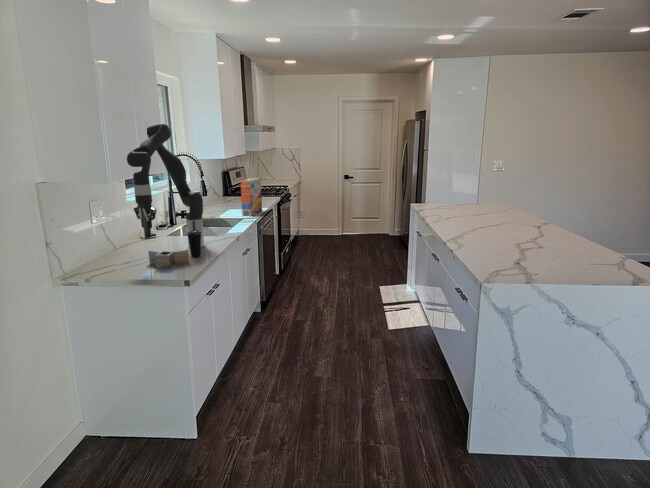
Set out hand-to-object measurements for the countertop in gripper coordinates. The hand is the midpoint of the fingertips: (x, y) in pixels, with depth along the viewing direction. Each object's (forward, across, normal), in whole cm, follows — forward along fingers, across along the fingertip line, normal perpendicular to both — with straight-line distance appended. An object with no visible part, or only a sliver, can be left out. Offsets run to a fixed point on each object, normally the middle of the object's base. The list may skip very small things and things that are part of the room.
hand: (147, 227), depth 212 cm
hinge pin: (+5, 0, 0) cm, 5 cm away
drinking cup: (+21, +6, +25) cm, 34 cm away
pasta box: (+22, -44, +147) cm, 155 cm away
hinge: (+21, +4, +6) cm, 22 cm away
